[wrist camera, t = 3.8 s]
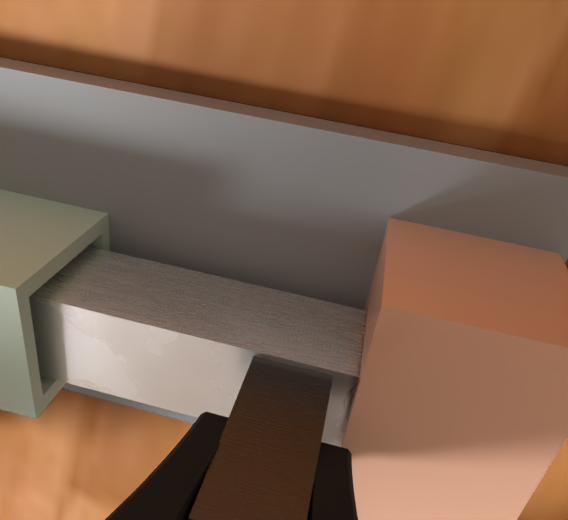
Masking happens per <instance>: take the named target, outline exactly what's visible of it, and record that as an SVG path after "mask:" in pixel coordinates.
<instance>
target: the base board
mask: <svg viewBox="0 0 568 520" xmlns="http://www.w3.org/2000/svg"><path fill="white" fill-rule="evenodd" d="M0 189H2V190H6V191H11V192H15V193H19V194H24V195H28V196H33V197H37V198H42V199H46V200H51V201H55V202H60V203H64V204H69V205H73V206H78V207H82V208H86V209H91V210H95V211H100V212H104V213H108V219H109V242H110V251H112V252H116V253H121V254H125V255H129V256H133V257H138V258H142V259H146V260H151V261H155V262H159V263H164V264H168V265H172V266H176V267H181V268H185V269H189V270H194V271H198V272H202V273H207V274H211V275H215V276H220V277H224V278H228V279H232V280H237V281H241V282H245V283H250V284H254V285H258V286H263V287H267V288H271V289H276V290H280V291H284V292H288V293H293V294H297V295H301V296H306V297H310V298H314V299H319V300H323V301H327V302H331V303H336V304H340V305H344V306H349V307H353V308H357V309H362V310H365V306H366V302H367V298H368V295H369V291H370V287H371V283H372V279H373V276H374V272H375V268H376V264H377V261H378V257H379V253H380V249H381V245H382V242H383V238H384V234H385V230H386V226H387V223H388V219H389V218H394V219H399V220H404V221H408V222H413V223H418V224H423V225H427V226H432V227H437V228H442V229H446V230H451V231H456V232H461V233H465V234H470V235H475V236H480V237H484V238H489V239H494V240H498V241H503V242H508V243H513V244H517V245H522V246H527V247H532V248H536V249H541V250H546V251H551V252H555V253H559V254H560V255H561V257H562V259H563V261H564V263H566V261H567V259H568V166H563V165H558V164H552V163H547V162H542V161H537V160H532V159H527V158H521V157H516V156H511V155H506V154H501V153H495V152H490V151H485V150H480V149H475V148H469V147H464V146H459V145H454V144H449V143H444V142H438V141H433V140H428V139H423V138H418V137H412V136H407V135H402V134H397V133H392V132H386V131H381V130H376V129H371V128H366V127H360V126H355V125H350V124H345V123H340V122H335V121H329V120H324V119H319V118H314V117H309V116H303V115H298V114H293V113H288V112H283V111H277V110H272V109H267V108H262V107H257V106H252V105H246V104H241V103H236V102H231V101H226V100H220V99H215V98H210V97H205V96H200V95H194V94H189V93H184V92H179V91H174V90H168V89H163V88H158V87H153V86H148V85H143V84H137V83H132V82H127V81H122V80H117V79H111V78H106V77H101V76H96V75H91V74H85V73H80V72H75V71H70V70H65V69H60V68H54V67H49V66H44V65H39V64H34V63H28V62H23V61H18V60H13V59H8V58H2V57H0ZM62 389H66V390H70V391H73V392H77V393H81V394H85V395H88V396H92V397H96V398H100V399H103V400H107V401H111V402H115V403H118V404H122V405H126V406H130V407H133V408H137V409H141V410H145V411H148V412H152V413H156V414H160V415H163V416H167V417H171V418H175V419H178V420H182V421H186V422H190V423H193V424H194V423H195V422H196V420H197V419H198V418H197V417H193V416H190V415H186V414H182V413H178V412H175V411H171V410H167V409H163V408H159V407H156V406H152V405H148V404H144V403H141V402H137V401H133V400H129V399H125V398H122V397H118V396H114V395H110V394H107V393H103V392H99V391H95V390H92V389H88V388H84V387H80V386H76V385H73V384H69V383H66V384H65V385H64V386H63V387H62Z"/></svg>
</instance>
